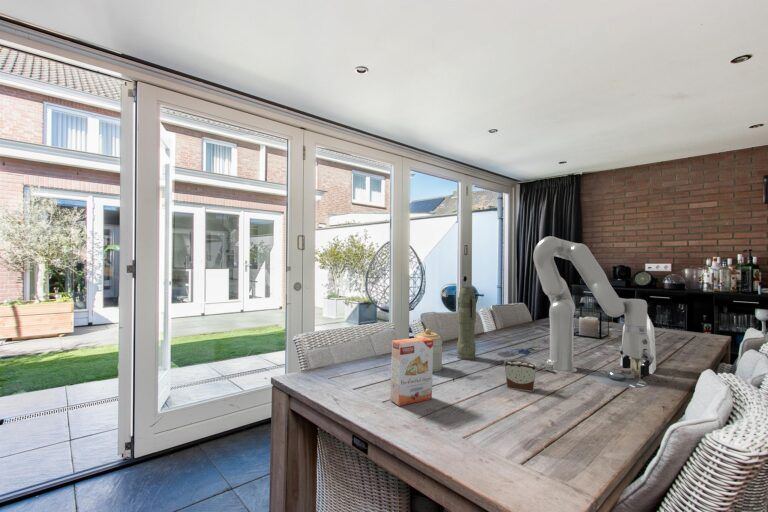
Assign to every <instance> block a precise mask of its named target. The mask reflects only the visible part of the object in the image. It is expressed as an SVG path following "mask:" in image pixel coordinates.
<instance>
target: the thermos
mask: <svg viewBox="0 0 768 512" xmlns="http://www.w3.org/2000/svg"><path fill="white" fill-rule="evenodd" d="M458 292H459V293H458V297H457V323H458V326H457V327H458V333H457V334H458V335H457V337H458V340H457V343H456V352H457V358H458V359H460V360H465V361H470V360H471V361H472V360H475V359H476V348H477V347H476V346H477V345H476V341H475V335H476V334H475V333H476V331H475V329H476V328H475V326H476V325H475V324H476V319H477V300H476V298H475V297H476V295H475V290H474V288H473V287H471V286H462V287H460V289H459V291H458Z"/></svg>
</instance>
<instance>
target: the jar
mask: <svg viewBox="0 0 768 512" xmlns="http://www.w3.org/2000/svg"><path fill="white" fill-rule="evenodd" d="M414 336H415V337H414V338H419V337H426V338H429V339H432V340H433V372H432V373H435V372H439V371H441V370H442V367H443V348H442V344H443V340H441V335H439V334H438V333H436V332H432V329H430V328H426V329H425V330H424V331H423V332H418V334H416V335H414Z"/></svg>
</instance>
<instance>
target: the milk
mask: <svg viewBox="0 0 768 512" xmlns="http://www.w3.org/2000/svg"><path fill="white" fill-rule="evenodd" d="M624 331H625V323H624V324H623V327H622V336H621V338H622V339H621V345H623V336H624ZM647 335H648V336H649V341H650V350H651V354H652V355H653V356H654V359H653V361H652V363H651V365H650V366H649V375H653V374H654V372H656V369H657V359H656V358H657V356H656V337H655V336H656V335H655V327H654V324H653V322H652V320H651V318H650V317H649V314H648V313H647ZM621 356H622V355H621V354H620V363H619V364H620V366H621V367H622V359H623V358H622V357H621ZM630 359H631V357H630ZM643 361H644V362H645V360H643ZM641 365H642V364H641V362H640V366H641Z"/></svg>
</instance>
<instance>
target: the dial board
mask: <svg viewBox="0 0 768 512" xmlns="http://www.w3.org/2000/svg"><path fill="white" fill-rule="evenodd" d="M588 378H590V379H592V380H593V381H595V382H597V383H601V384H604V385H608V386H614V387H619V388H628V389H629V388H630V389H638V388H639V389H641V388H645V387H646V386H648V383H647V382H646V381H645V380H644V379H641V378H640V379H635V378H626V379H625V380H616V379H611V378H609V377H608V371H594V372H593V371H592V372H590V373H588Z"/></svg>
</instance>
